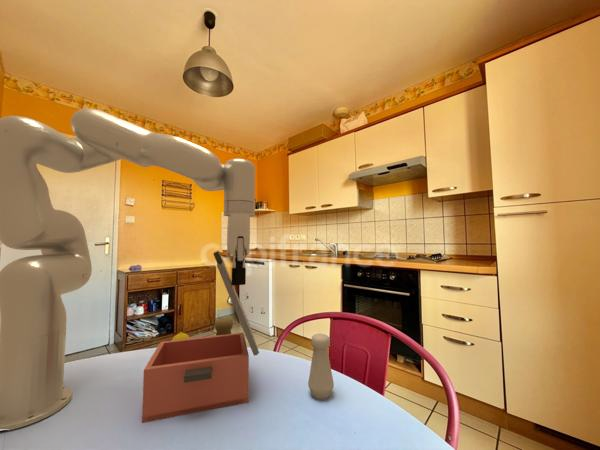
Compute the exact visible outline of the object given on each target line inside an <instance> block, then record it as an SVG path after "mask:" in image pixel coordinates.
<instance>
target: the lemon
mask: <svg viewBox="0 0 600 450" xmlns="http://www.w3.org/2000/svg"><path fill="white" fill-rule="evenodd" d="M190 338H191V337H190V336H189V335H188V334H187V333H185V332H183V331H180V332H178V333H177V334H176V335H175V336H173V337H172V339H171V341H172V340H181V339H190Z"/></svg>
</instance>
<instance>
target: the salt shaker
mask: <svg viewBox="0 0 600 450" xmlns="http://www.w3.org/2000/svg"><path fill="white" fill-rule="evenodd" d="M310 342H311V343H310V345H311V346H312V348H313V352H312V357H311V364H310V371H309V376H308V382H307V384H308V385H307V386H308V388H309V391H310V394H311V396H312V397H314V398H315V399H316V400H327V399H328V398H329V397H330V396H331V394H332V392H333V389H334V386H335V384H334V383H335V382H334V379H333V373H332V368H331V361H330V356H329V349H328V348H330V346H331V338H330V336H329V335H328V334H326V333H321V332H320V333H315V334H313V335H312V336H311V340H310Z"/></svg>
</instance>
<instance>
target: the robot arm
mask: <svg viewBox="0 0 600 450" xmlns="http://www.w3.org/2000/svg"><path fill="white" fill-rule="evenodd" d="M70 127H71V129H72V132H73V133H74V135H75V136H76V137H74V138H70V137H68V136H66V135H65V134H63V133H62V132H60V131H58V130H56V129H55V128H52V127H51V126H49V125H48V124H45V123H43V122H41V121H38V120H35V119H33V118H30V117H26V116H22V115H21V116H20V115H9V116H3V117H0V242H1V244H3V246H6V247H7V248H8V249H9V248H10V249H14V250H19V251H20V250H21V251H37V250H38V251H39V250H40V252H41V254H37V255H28V256H25V257H20V258H18V259H15V260H13V261H12V262H11V261H10V262H9V263H8V264H7V265H5V266H4V267H3V268H2V269H1V270H0V429H10V430H9V431H12V430H17V429H20V428H23V427H26V426H29V425H32V424H34V423H38V422H39V421H41V420H43V419H46V418H48V417H49V416H51V415H53V414H55V413H57V412H58V411H60V410H61V409H62V408H64V407H66V405H68V403H70V402H71V399H72V398H73V397H72V396H73V390H72V389H71V388H70V387H67V386H64V375H65V374H64V373H65V359H66V340H67V310H66V307H65V304H64V302H63V299H62V295H64V294H67V293H71V292H74V291H77V290H79V289H80V288H83V287H84V286H85V285H86V284H87V283H88V281H89V280H90V279H91V276H92V270H93V268H92V267H93V266H92V260H91V257H90V249H89V247H88V246H89V245H88V241H87V236H86V232H85V228H84V226H83V224H82V223H81V221H80V220H79V219H78V218H77V216H76V215H73V214H72V213H70V212H68V211H65V210H60V209H56V208H54V207H53V204H52V201H51V197H50V190H49V186H48V185H47V182H46V180H45V179H44V177H43V175H42V174H41V172H40V170H39V169H38V167H37V165H40V166H43V167H46V168H48V169H51V170H54V171H57V172H60V173H64V174H65V173H66V174H72V173H73V174H75V173H80V172H83V171H87V170H91V169H94V168H97V167H102V166H104V165H109V164H111V163H114V162H117V161H120V160H122V159H123V160H125V161H128V162H130V163H131V164H135V165H137V166H138V167H139V166H140V167H142V168H149V167H151V166H154V167H158V168H162V169H165V170H167V171H170V172H174V173H176V174H178V175H181V176H183V177H185V178H188V179H190V180H192V181H193V182H194V184H195V185H197V187H198V188H200V189H201V190H203V191H206V192H218V191H223V216H224V217H227V231H226V232H227V233H226V235H227V236H226V255H227V256H229V257H231V254H232V268H231V280H232V285H234V286H245V285H246V280H247V279H246V276H247V275H246V270H247V269H246V256H248V255H249V254H250V242H251V241H250V239H251V218H252V217H255V213H256V211H255V210H256V205H255V204H256V199H255V197H256V194H255V193H256V188H255V187H256V168H255V167H256V166H255V164H254V163H253V162H252V161H250V160H249V159H244V158H231V159H229V160H227V161H226V162H225V163H224V164H223V163H222V162H221V161H220V158H218V156H217V155H216V154H215V153H213V152H212V151H210V150H209V149H208V148H205V147H203V146H201V145H199V144H197V143H193V142H191V141H189V140H186V139H184V138H182V137H178V136H174V135H171V134H167V133H165V134H164V133H160V132H154V131H152V130H149V129H147V128H144V127H142V126H139V125H137V124H134V123H132V122H130V121H127V120H125V119H123V118H119V117H118V116H115V115H113V114H111V113H108V112H105V111H103V110H99V109H97V108H91V107H89V108H87V107H86V108H81V109H78V110H77V111H75V112H74V113H73V115H72V116H71V118H70Z"/></svg>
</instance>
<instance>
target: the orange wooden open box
mask: <svg viewBox="0 0 600 450" xmlns="http://www.w3.org/2000/svg"><path fill="white" fill-rule="evenodd" d="M189 338H190V339H181V340H172V339H171V340H164V341H160V342H159V343H158V345H157V347H156V349H155V350H154V352H153V354H152V355H151V357H150V359H149V361H148V362H147V364H146V365H145V367H144V369H143V384H142V386H143V387H142V407H141V408H142V412H141V413H142V415H141V424H142V423H149V422H153V421H158V420H162V419H170V418H174V417H178V416H179V417H180V416H185V415H188V414H195V413H201V412H206V411H211V410H215V409H216V410H217V409H221V408H226V407H231V406H236V405H242V404H247V403H249V375H250V374H249V371H250V370H249V368H250V367H249V365H250V363H249V362H250V361H249V360H250V357H249V356H250V355H249V351H248V347H247V342H246V336H245V333H244V332H237V333H231V334H227V335H218V336H216V335H210V336H200V337H189Z"/></svg>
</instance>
